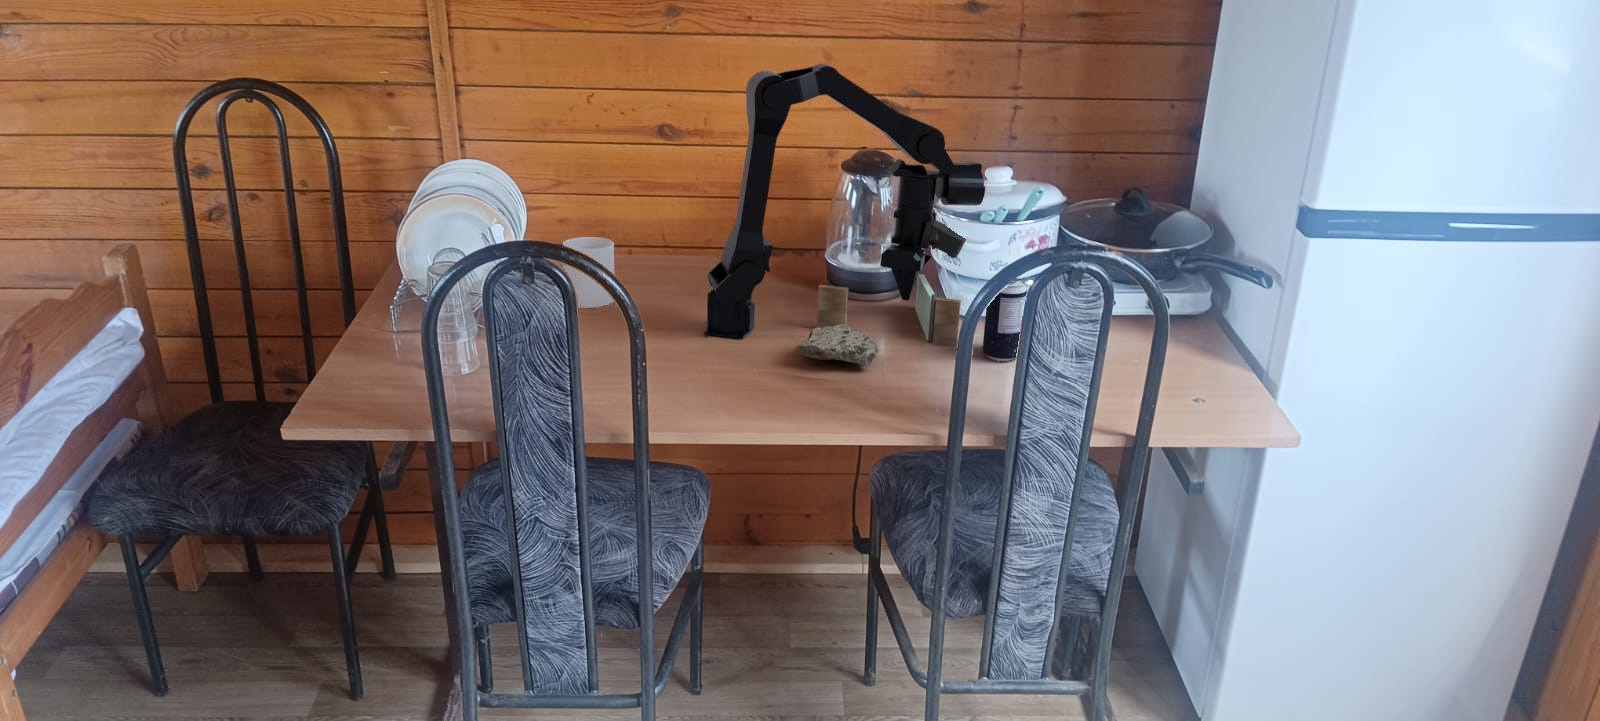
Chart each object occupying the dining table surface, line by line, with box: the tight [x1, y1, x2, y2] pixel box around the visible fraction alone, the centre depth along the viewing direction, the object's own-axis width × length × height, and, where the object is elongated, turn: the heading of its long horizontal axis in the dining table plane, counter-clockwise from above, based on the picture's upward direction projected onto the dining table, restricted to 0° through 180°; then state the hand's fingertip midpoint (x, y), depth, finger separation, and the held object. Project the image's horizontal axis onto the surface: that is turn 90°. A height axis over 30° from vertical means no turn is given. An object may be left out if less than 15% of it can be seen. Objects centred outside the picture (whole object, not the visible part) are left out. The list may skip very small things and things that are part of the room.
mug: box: [561, 236, 615, 310], centre depth 191 cm, size 12×8×10 cm
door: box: [914, 274, 936, 341], centre depth 183 cm, size 12×1×7 cm, turn 3°
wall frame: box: [816, 284, 962, 347], centre depth 178 cm, size 22×1×8 cm, turn 75°
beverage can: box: [981, 278, 1028, 362], centre depth 171 cm, size 6×6×12 cm
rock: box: [795, 324, 879, 367], centre depth 168 cm, size 11×11×4 cm
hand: (905, 299), depth 185 cm, fingers closed
